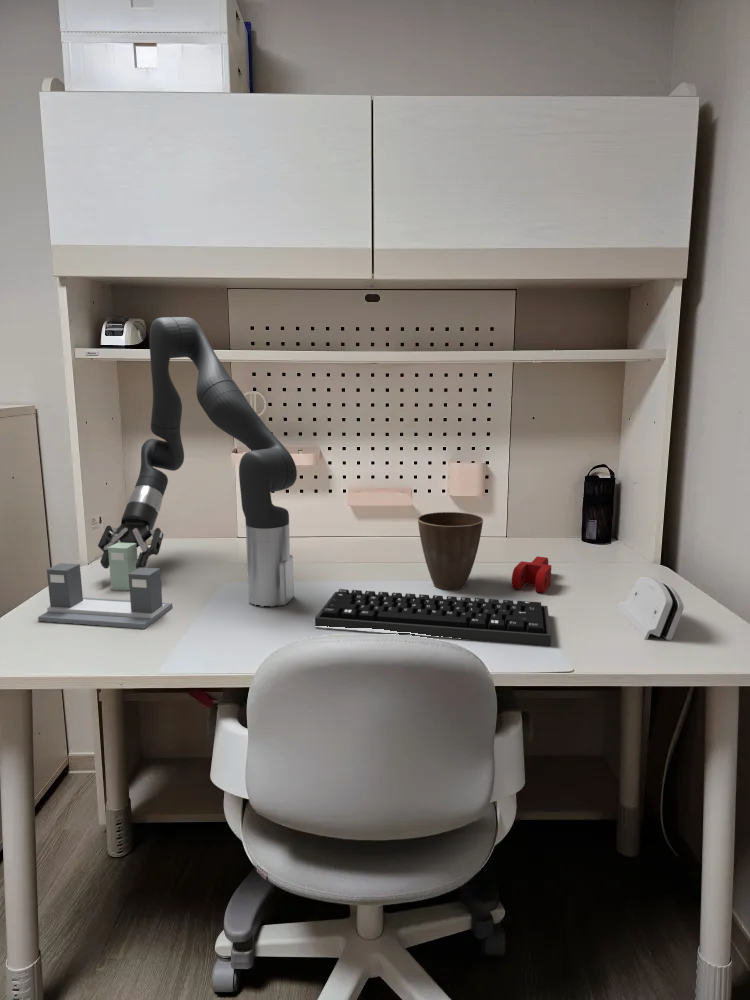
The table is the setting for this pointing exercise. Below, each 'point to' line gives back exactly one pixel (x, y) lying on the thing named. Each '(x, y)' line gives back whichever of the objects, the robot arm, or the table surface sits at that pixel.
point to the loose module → (122, 564)
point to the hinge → (652, 608)
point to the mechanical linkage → (532, 574)
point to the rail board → (104, 600)
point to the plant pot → (450, 546)
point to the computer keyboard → (439, 616)
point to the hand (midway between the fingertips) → (121, 567)
